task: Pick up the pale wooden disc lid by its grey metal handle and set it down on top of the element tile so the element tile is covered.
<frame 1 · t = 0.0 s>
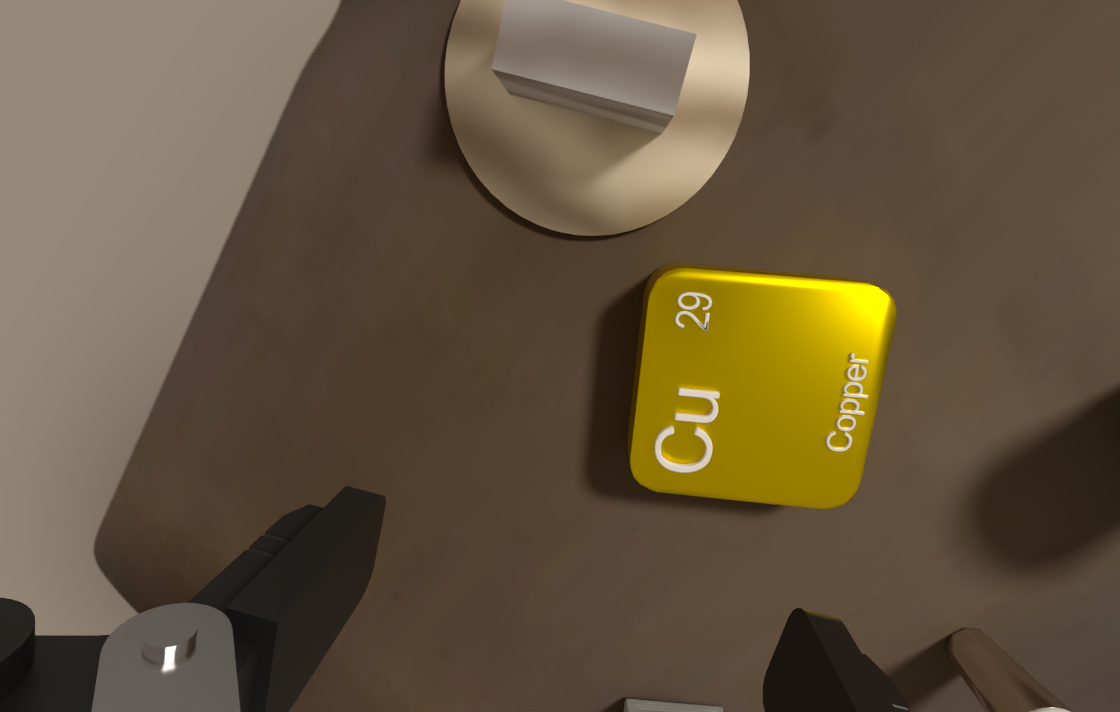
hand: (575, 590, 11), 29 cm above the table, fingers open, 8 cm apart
milkshake: (966, 648, 43), on the table
lid: (594, 84, 36), on the table
element tile: (740, 375, 40), on the table
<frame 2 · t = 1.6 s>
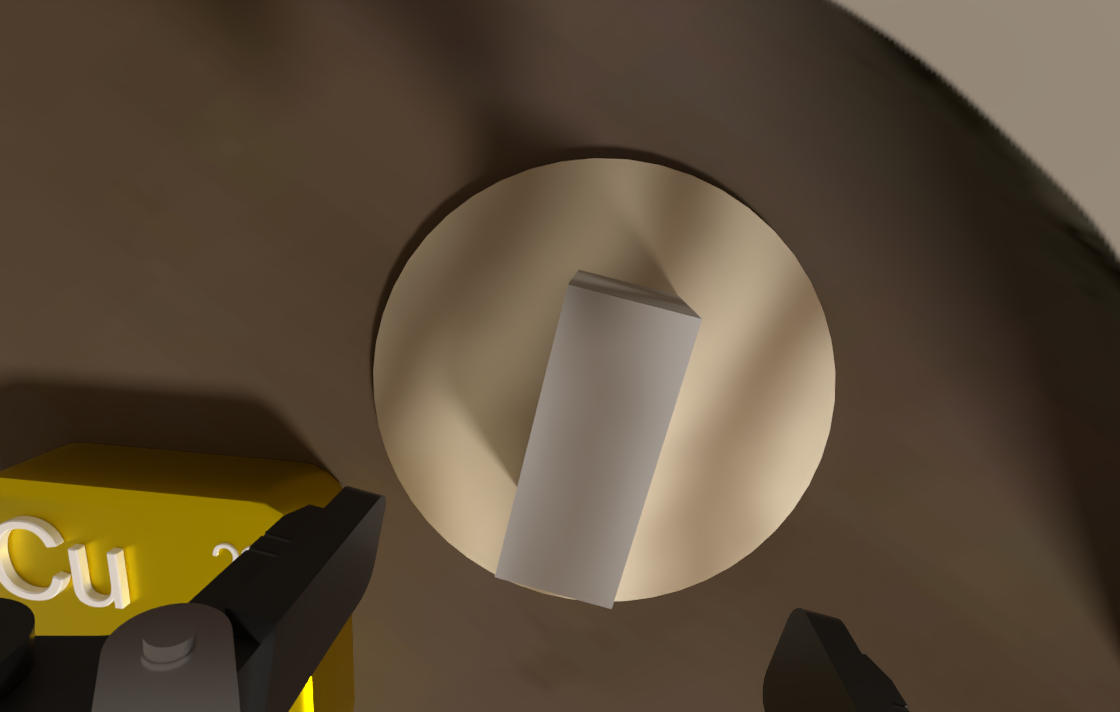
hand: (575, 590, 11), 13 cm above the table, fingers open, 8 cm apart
lid: (596, 392, 24), on the table
element tile: (212, 586, 28), on the table
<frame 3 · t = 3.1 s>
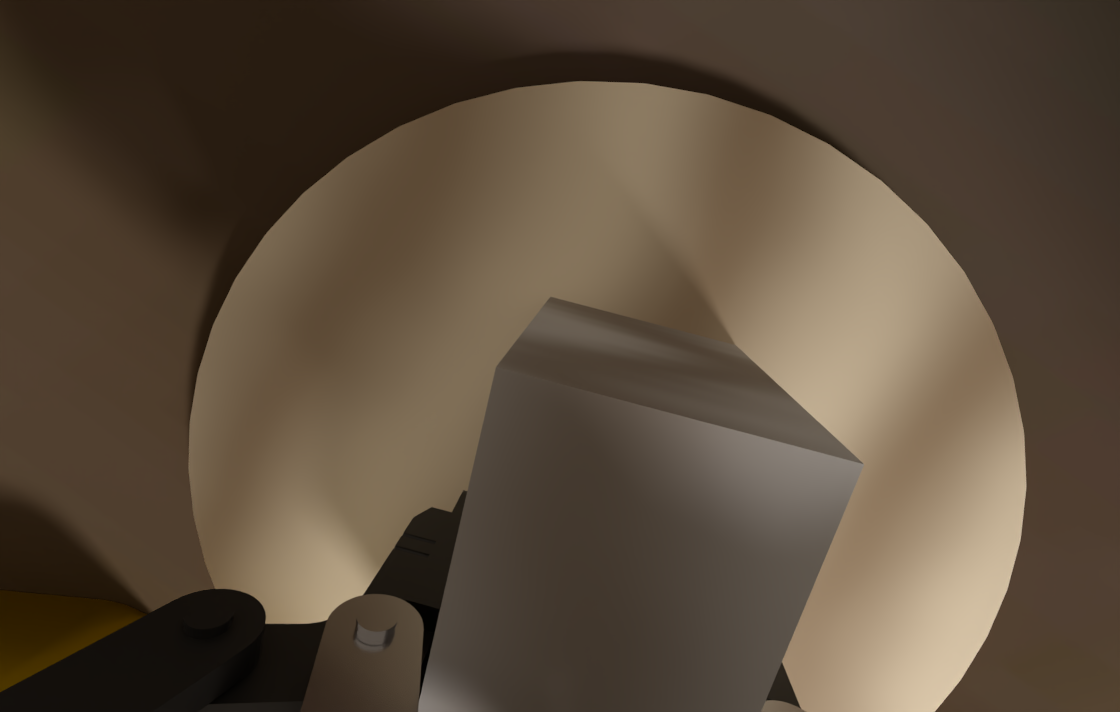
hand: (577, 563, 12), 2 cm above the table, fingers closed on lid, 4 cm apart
lid: (584, 506, 14), on the table, touching gripper
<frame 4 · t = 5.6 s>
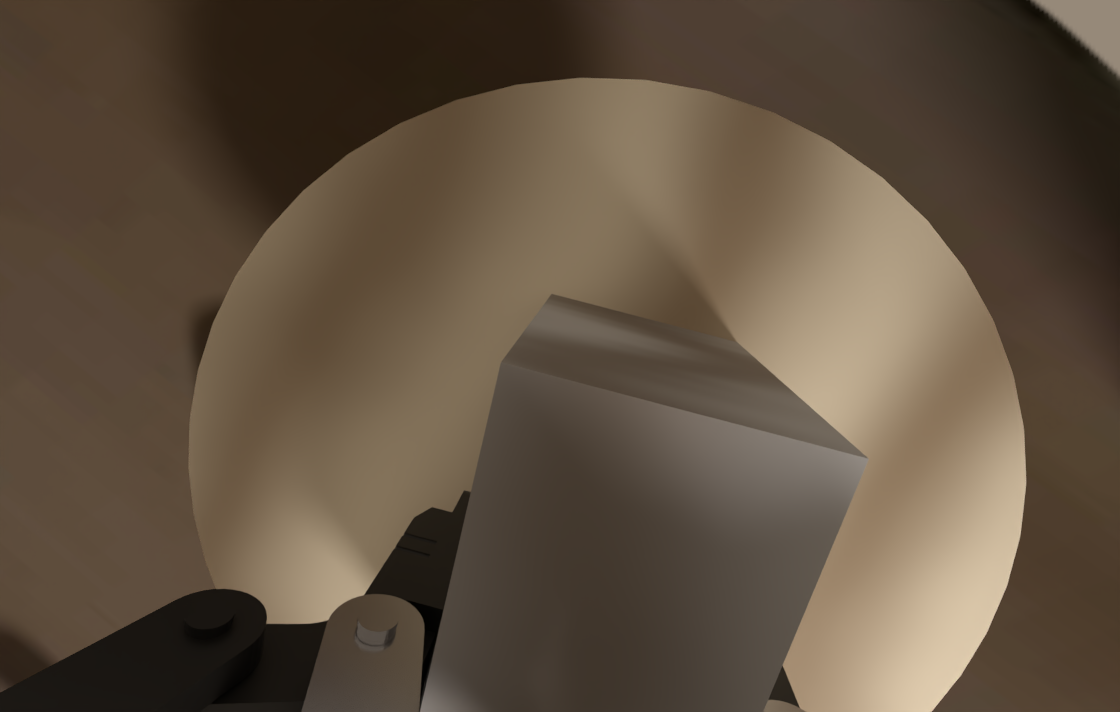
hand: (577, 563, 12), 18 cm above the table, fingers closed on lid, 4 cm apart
lid: (585, 504, 14), point 15 cm above the table, touching gripper
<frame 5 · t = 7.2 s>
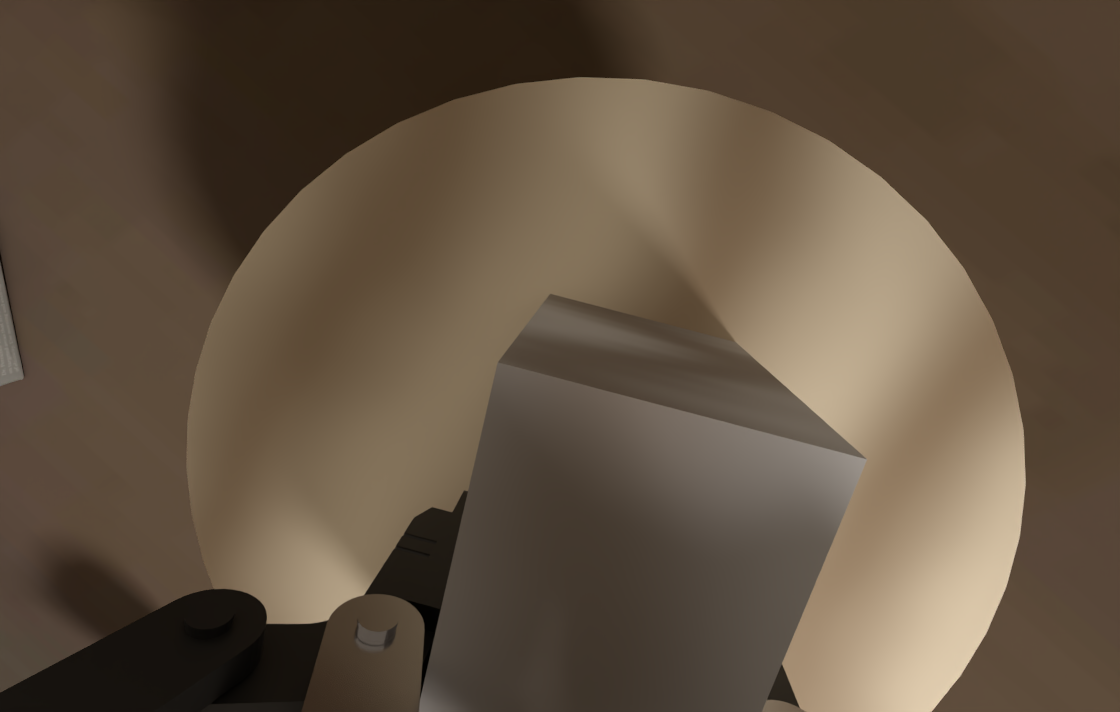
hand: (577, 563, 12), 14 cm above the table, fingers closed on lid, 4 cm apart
lid: (583, 504, 14), point 12 cm above the table, touching gripper
when the fingers open (9 cm above the table, at t = 8.4 s): lid drops 2 cm, resting on element tile.
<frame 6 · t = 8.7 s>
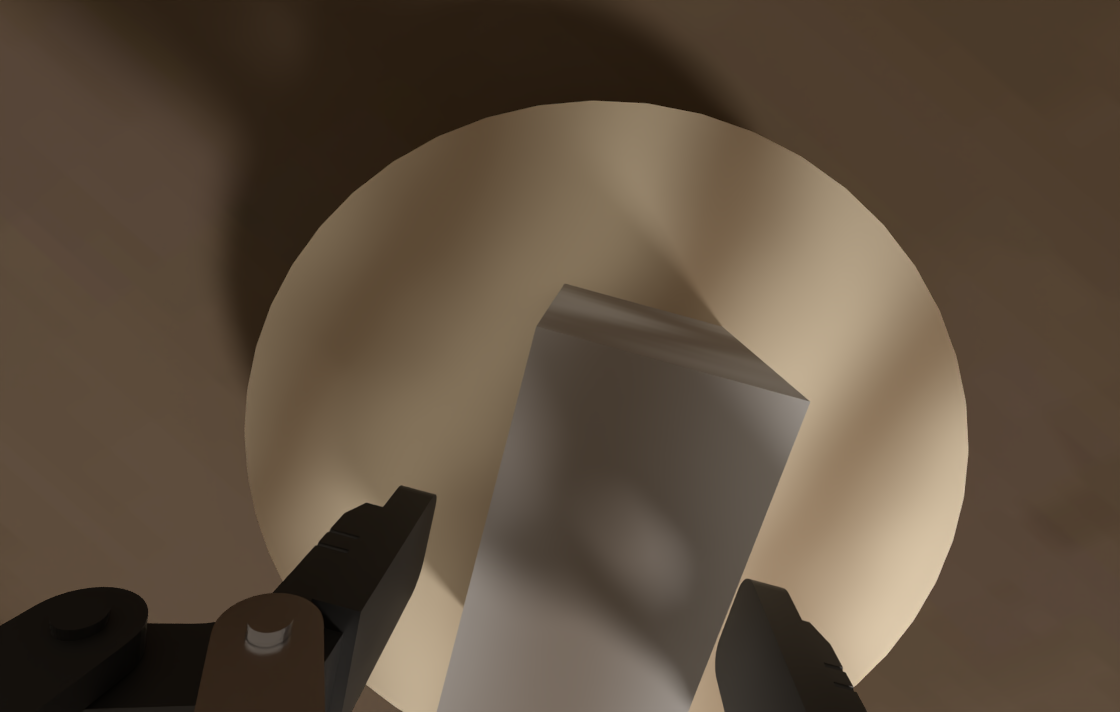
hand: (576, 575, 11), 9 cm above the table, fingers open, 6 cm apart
lid: (589, 469, 16), point 4 cm above the table, touching element tile
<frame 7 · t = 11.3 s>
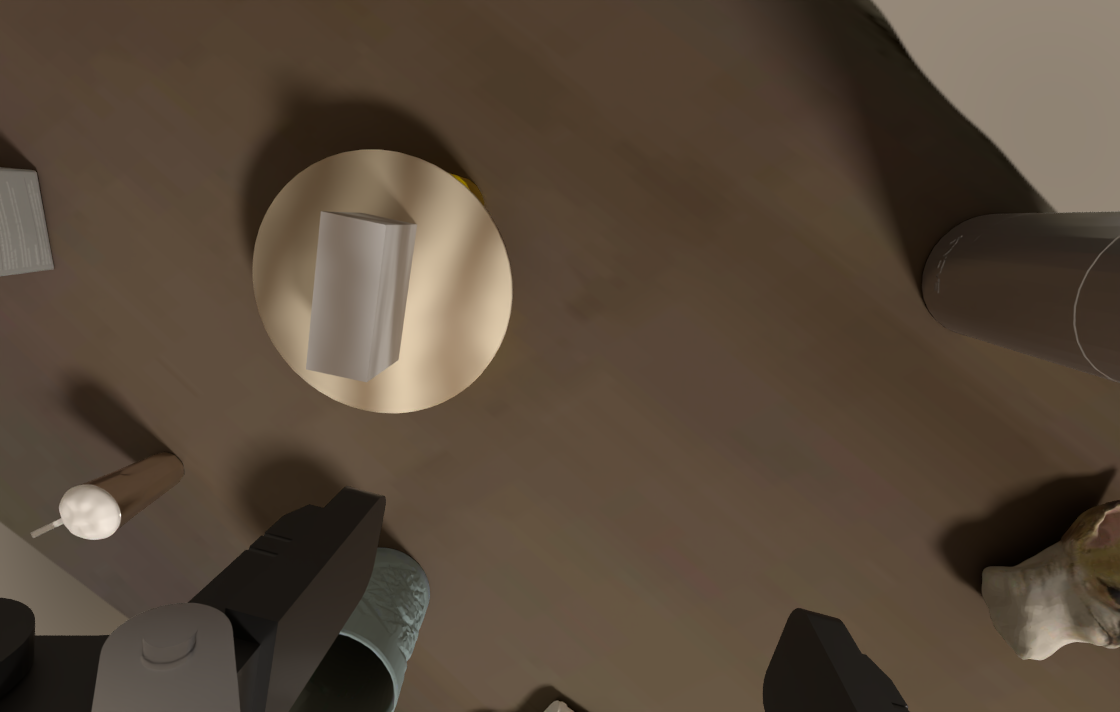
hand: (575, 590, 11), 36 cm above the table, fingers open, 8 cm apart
blue-grey pot: (387, 584, 53), on the table
skincare box: (19, 221, 47), on the table
milkshake: (165, 468, 51), on the table
lid: (385, 286, 41), point 4 cm above the table, touching element tile
ceramic sculpture: (1044, 562, 48), on the table
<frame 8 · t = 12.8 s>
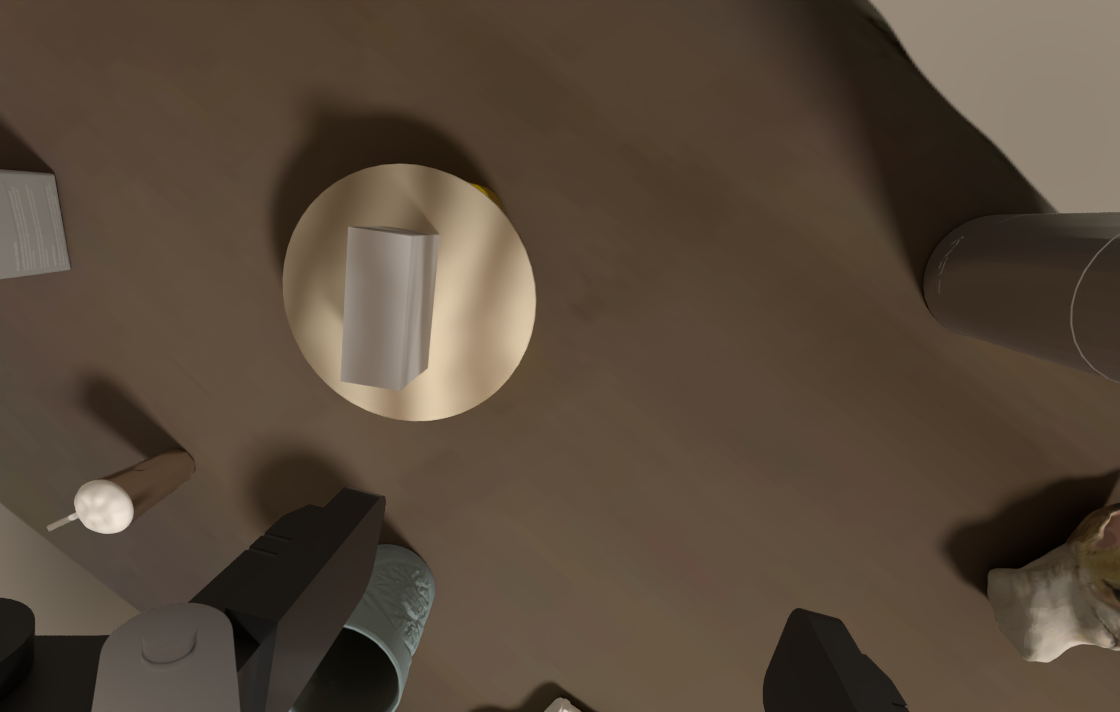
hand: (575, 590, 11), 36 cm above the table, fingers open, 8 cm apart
blue-grey pot: (393, 580, 53), on the table
skincare box: (37, 223, 48), on the table
milkshake: (176, 464, 52), on the table
lid: (411, 297, 42), point 4 cm above the table, touching element tile
ceramic sculpture: (1050, 564, 48), on the table
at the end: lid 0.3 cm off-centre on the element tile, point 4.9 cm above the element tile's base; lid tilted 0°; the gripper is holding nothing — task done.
